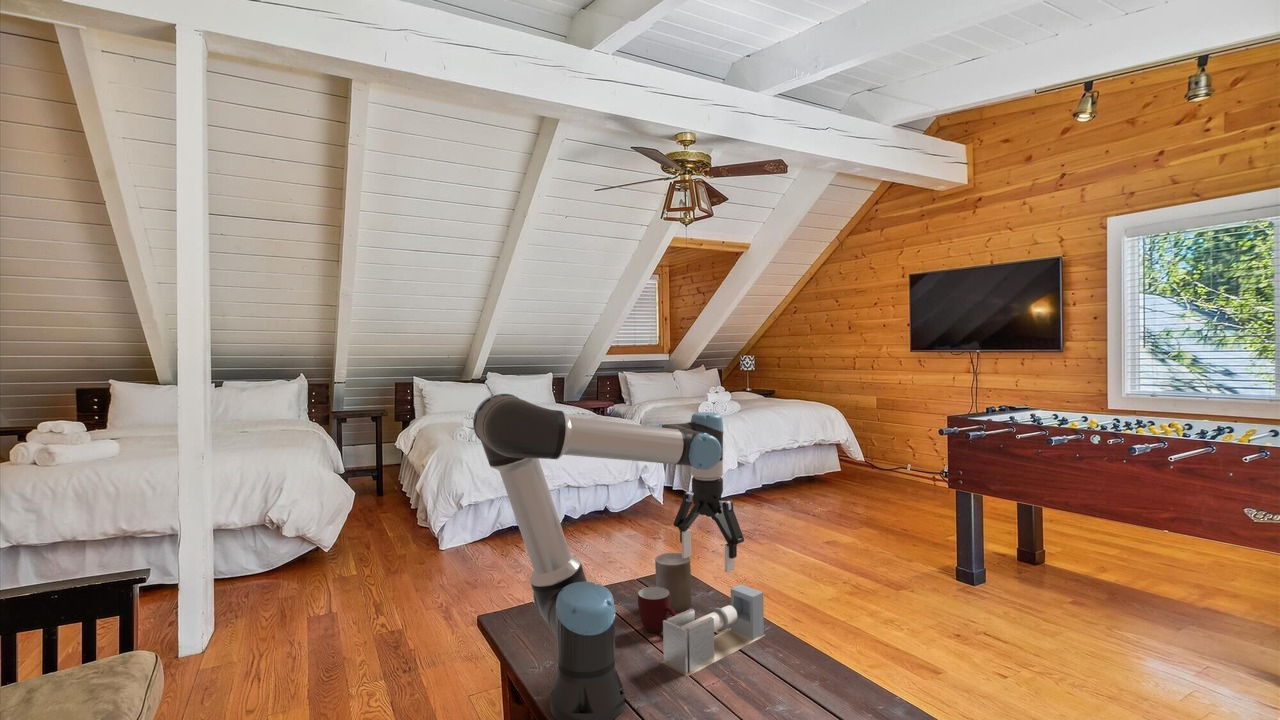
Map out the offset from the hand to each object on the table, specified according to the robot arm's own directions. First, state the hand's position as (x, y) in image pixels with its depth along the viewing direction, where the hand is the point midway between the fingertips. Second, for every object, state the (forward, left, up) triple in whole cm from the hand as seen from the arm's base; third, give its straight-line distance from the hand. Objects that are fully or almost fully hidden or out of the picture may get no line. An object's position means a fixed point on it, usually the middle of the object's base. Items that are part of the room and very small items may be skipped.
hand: (707, 563), depth 159 cm
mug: (-6, +11, -19) cm, 23 cm away
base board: (-3, -5, -19) cm, 20 cm away
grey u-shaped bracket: (-11, -5, -18) cm, 22 cm away
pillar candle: (+7, +19, -19) cm, 28 cm away
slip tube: (-6, -5, -14) cm, 16 cm away
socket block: (+9, -5, -18) cm, 21 cm away
